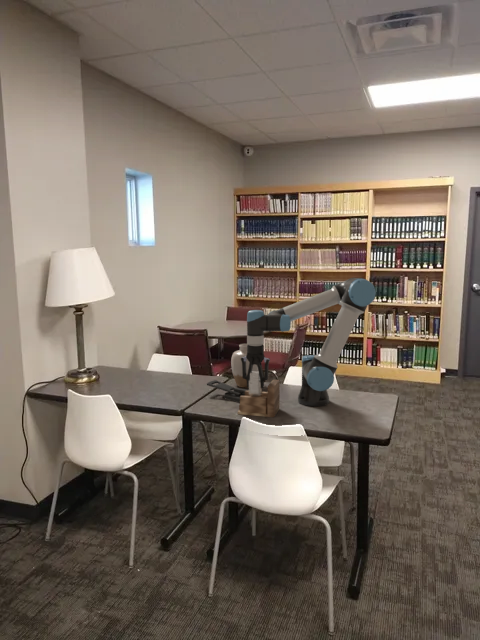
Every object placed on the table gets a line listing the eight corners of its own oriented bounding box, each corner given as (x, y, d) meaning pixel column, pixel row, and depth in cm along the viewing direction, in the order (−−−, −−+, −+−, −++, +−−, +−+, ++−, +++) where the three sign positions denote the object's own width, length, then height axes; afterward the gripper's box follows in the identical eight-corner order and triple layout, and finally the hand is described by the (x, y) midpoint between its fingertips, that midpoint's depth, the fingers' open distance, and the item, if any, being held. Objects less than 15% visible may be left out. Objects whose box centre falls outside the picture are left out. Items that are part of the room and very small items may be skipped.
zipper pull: (215, 379, 251) (255, 386, 237) (215, 391, 252) (255, 399, 238) (204, 383, 244) (245, 390, 230) (205, 395, 245) (245, 403, 231)
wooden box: (279, 408, 223) (279, 379, 221) (274, 417, 211) (274, 386, 209) (244, 405, 227) (244, 377, 225) (237, 414, 216) (237, 384, 214)
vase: (262, 388, 257) (262, 346, 254) (234, 390, 254) (233, 348, 251) (256, 380, 272) (256, 341, 269) (229, 382, 269) (228, 342, 266)
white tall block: (260, 396, 220) (260, 371, 218) (258, 399, 216) (258, 373, 215) (252, 396, 221) (252, 370, 220) (249, 398, 217) (249, 373, 216)
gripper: (275, 343, 217) (275, 393, 220) (239, 341, 221) (239, 390, 224) (272, 346, 209) (271, 398, 213) (234, 344, 214) (235, 395, 217)
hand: (255, 394), depth 219 cm, fingers closed on white tall block, 4 cm apart
